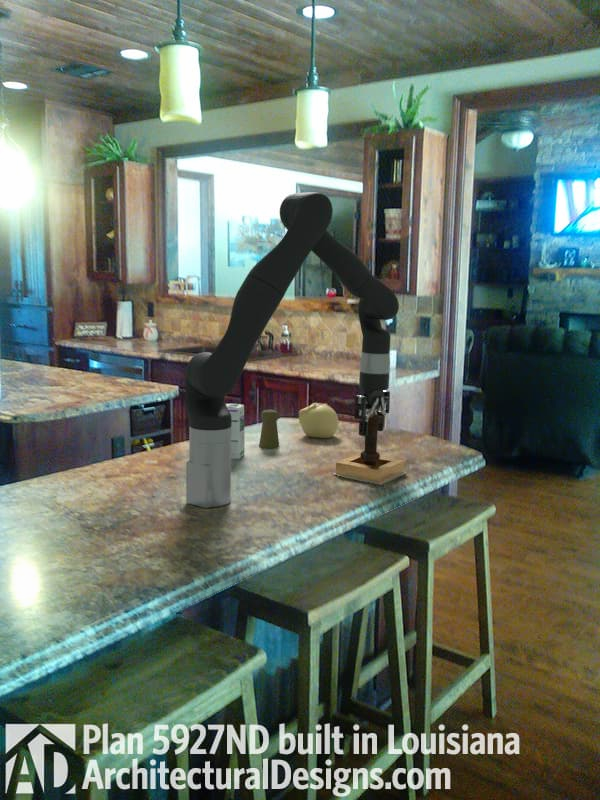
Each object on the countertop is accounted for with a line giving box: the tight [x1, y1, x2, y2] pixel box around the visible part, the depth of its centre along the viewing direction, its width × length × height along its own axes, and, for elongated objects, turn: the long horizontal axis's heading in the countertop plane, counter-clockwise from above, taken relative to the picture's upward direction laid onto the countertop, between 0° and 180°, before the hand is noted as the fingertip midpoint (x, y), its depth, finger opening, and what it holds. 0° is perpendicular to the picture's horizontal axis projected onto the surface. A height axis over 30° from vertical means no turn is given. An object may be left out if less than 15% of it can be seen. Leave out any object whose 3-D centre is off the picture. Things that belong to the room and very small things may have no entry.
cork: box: [258, 409, 280, 450], centre depth 213 cm, size 6×6×11 cm
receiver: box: [332, 452, 407, 486], centre depth 187 cm, size 14×14×3 cm
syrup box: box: [226, 403, 245, 460], centre depth 200 cm, size 6×6×14 cm
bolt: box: [360, 413, 383, 467], centre depth 186 cm, size 6×5×15 cm
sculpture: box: [298, 402, 340, 439], centre depth 228 cm, size 11×12×11 cm
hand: (371, 433), depth 185 cm, fingers open, 8 cm apart
